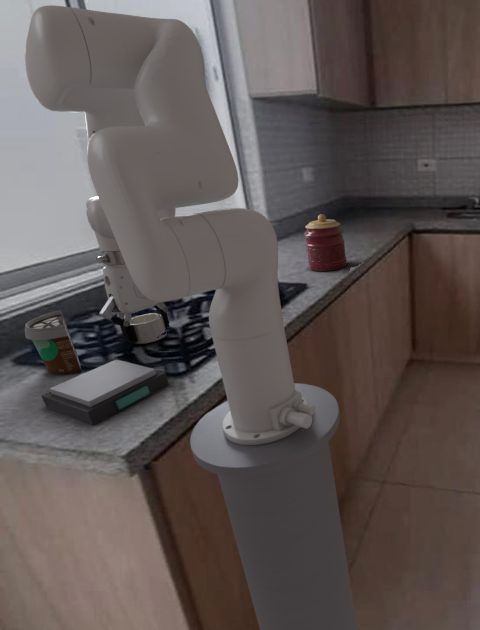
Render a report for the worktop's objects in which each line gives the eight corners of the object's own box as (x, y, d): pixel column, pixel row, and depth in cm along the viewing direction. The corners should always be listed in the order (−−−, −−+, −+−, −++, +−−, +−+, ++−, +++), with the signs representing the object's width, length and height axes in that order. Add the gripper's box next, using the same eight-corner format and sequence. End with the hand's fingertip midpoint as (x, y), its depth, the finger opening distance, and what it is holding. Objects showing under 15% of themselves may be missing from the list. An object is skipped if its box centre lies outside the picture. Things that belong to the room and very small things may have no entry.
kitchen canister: (309, 263, 156) (302, 213, 149) (346, 260, 157) (341, 210, 151) (307, 273, 144) (299, 218, 137) (347, 269, 146) (341, 215, 139)
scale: (171, 385, 78) (166, 368, 77) (95, 426, 67) (87, 407, 66) (123, 372, 84) (118, 356, 83) (46, 408, 73) (38, 390, 72)
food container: (40, 363, 90) (21, 317, 86) (77, 353, 93) (60, 309, 90) (41, 385, 81) (20, 335, 77) (82, 373, 84) (64, 325, 81)
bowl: (173, 333, 100) (168, 314, 98) (145, 345, 94) (138, 326, 92) (154, 330, 102) (148, 311, 101) (125, 341, 97) (119, 322, 95)
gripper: (91, 268, 83) (120, 353, 89) (174, 248, 97) (193, 322, 104) (69, 266, 86) (98, 348, 92) (152, 246, 100) (172, 319, 107)
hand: (148, 334), depth 98 cm, fingers closed on bowl, 6 cm apart
